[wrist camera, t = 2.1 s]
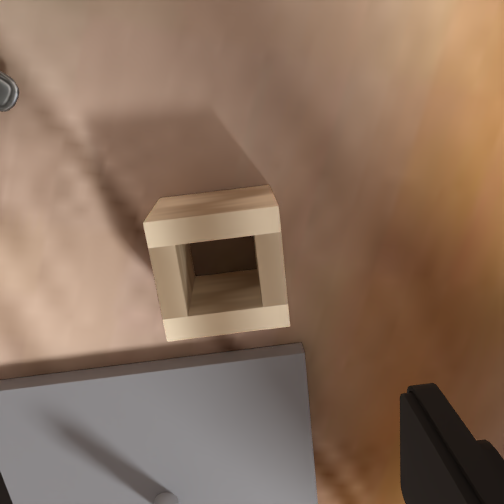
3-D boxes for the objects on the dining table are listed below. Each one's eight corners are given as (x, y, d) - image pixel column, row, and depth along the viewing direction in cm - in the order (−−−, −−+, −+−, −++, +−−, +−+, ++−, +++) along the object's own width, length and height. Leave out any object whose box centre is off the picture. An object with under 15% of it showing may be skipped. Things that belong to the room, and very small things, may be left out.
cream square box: (269, 184, 25) (278, 206, 20) (279, 285, 27) (290, 326, 22) (159, 198, 25) (143, 222, 20) (178, 297, 27) (167, 341, 22)
